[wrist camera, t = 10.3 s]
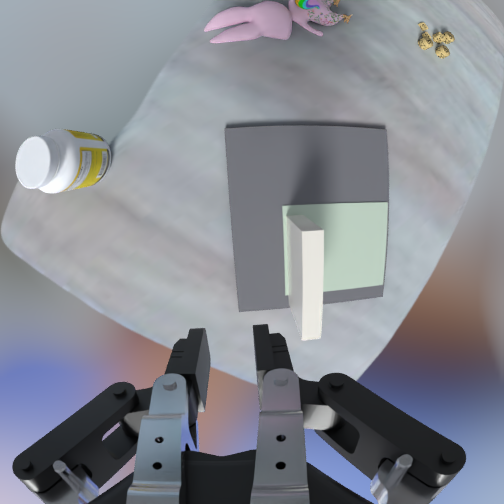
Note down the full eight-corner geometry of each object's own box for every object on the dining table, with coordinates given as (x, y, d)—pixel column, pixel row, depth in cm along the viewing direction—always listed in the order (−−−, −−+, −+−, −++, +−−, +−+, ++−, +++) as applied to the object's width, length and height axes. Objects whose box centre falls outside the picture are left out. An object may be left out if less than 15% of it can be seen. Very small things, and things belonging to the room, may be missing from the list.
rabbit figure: (322, -1, 22) (194, 22, 20) (345, -27, 16) (196, -12, 15) (347, 40, 23) (218, 69, 22) (375, 17, 18) (225, 39, 16)
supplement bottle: (63, 152, 24) (3, 151, 15) (101, 124, 24) (46, 110, 14) (81, 195, 26) (22, 210, 16) (120, 170, 25) (67, 173, 16)
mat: (224, 129, 25) (224, 128, 24) (384, 130, 25) (386, 129, 24) (238, 309, 30) (238, 312, 29) (380, 294, 30) (382, 296, 30)
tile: (301, 231, 20) (301, 340, 22) (323, 229, 20) (320, 338, 22) (286, 215, 27) (288, 303, 29) (302, 214, 27) (303, 301, 29)
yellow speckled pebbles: (446, 39, 22) (454, 35, 20) (444, 67, 23) (453, 64, 21) (416, 19, 21) (424, 14, 19) (413, 46, 23) (421, 41, 21)
